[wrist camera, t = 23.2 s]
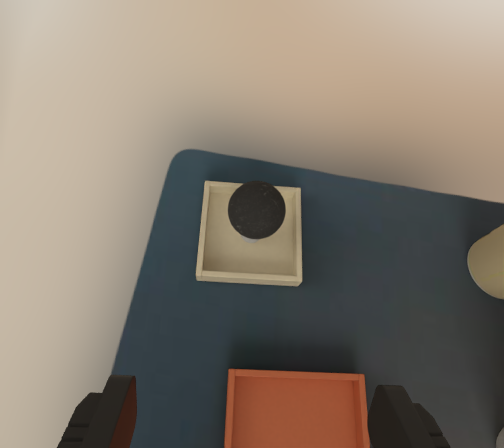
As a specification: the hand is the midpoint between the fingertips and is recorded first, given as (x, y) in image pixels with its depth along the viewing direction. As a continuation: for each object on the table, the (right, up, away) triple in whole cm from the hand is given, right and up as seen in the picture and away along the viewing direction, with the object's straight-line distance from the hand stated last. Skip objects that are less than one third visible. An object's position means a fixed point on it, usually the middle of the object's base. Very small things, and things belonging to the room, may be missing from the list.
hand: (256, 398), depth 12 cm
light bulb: (0, +4, +29) cm, 30 cm away
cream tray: (0, +4, +30) cm, 30 cm away
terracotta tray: (+4, -15, +22) cm, 27 cm away
